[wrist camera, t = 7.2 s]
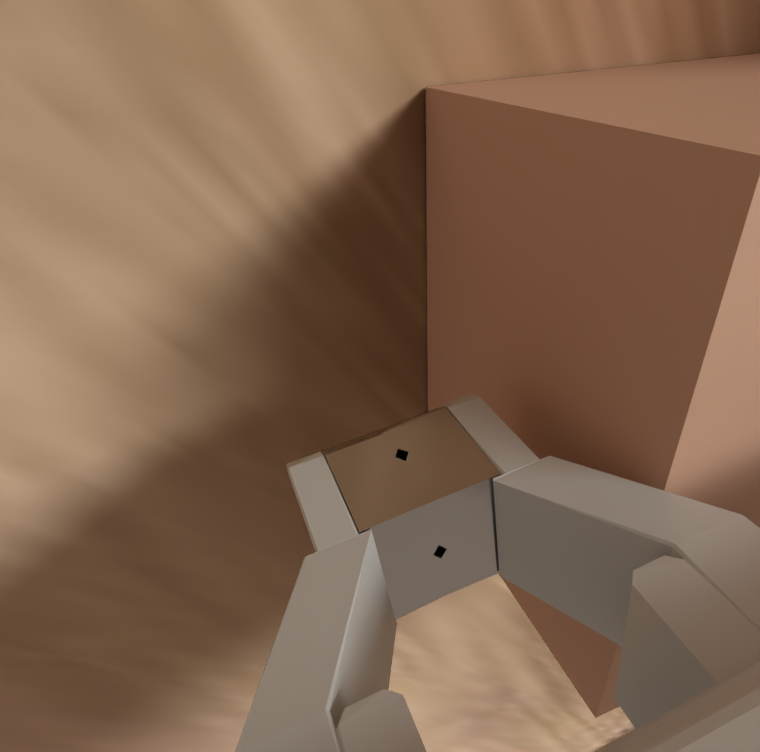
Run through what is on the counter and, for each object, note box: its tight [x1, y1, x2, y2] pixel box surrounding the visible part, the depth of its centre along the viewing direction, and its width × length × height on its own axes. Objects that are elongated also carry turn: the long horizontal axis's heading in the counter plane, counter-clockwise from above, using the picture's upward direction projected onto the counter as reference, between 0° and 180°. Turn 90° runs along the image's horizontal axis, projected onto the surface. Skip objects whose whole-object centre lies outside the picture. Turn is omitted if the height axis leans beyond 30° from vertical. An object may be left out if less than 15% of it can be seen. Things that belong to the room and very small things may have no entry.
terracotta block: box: [426, 53, 760, 718], centre depth 10 cm, size 8×8×6 cm
